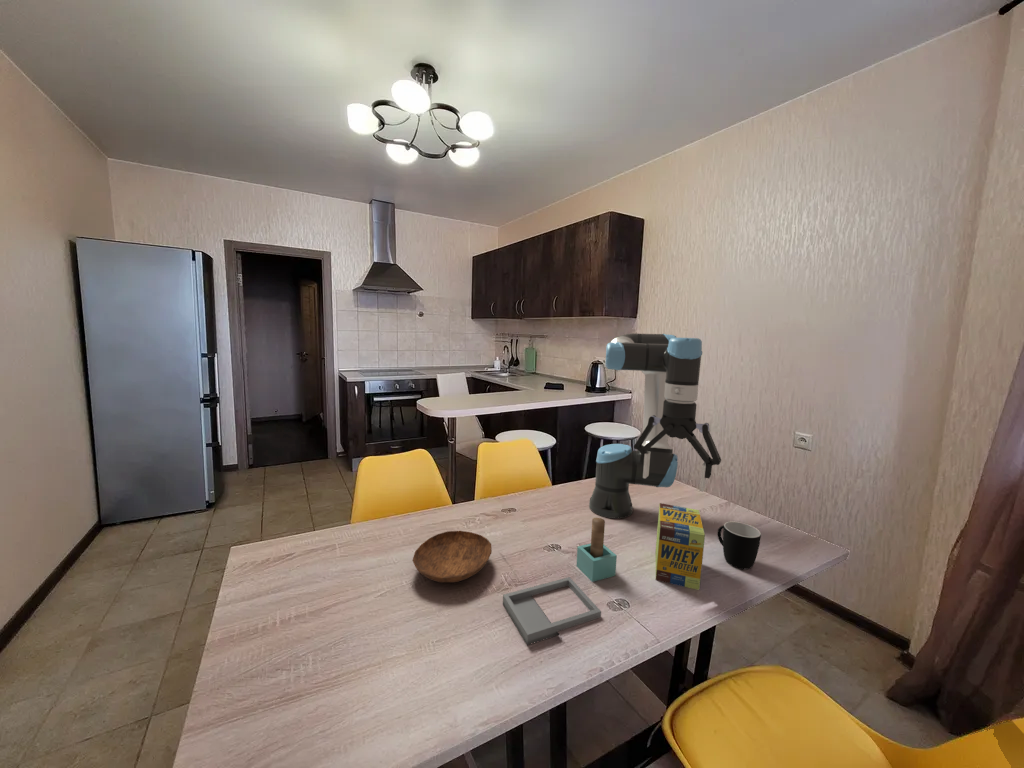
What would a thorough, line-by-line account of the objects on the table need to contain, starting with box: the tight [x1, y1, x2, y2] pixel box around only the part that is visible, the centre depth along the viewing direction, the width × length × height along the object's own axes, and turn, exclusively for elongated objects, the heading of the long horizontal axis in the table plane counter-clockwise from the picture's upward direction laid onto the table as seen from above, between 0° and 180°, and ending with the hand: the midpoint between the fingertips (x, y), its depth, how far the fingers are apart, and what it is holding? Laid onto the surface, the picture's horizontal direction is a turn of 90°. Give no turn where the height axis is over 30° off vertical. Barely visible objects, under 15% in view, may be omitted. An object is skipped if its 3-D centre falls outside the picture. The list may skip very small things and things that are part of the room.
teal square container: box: [575, 542, 618, 583], centre depth 103 cm, size 7×7×7 cm
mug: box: [716, 520, 762, 570], centre depth 111 cm, size 12×9×10 cm
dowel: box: [590, 517, 606, 558], centre depth 102 cm, size 3×3×14 cm
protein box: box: [654, 502, 706, 591], centre depth 105 cm, size 10×15×16 cm
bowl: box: [412, 530, 493, 583], centre depth 104 cm, size 20×22×5 cm
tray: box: [502, 576, 602, 646], centre depth 89 cm, size 13×18×2 cm
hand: (672, 483), depth 100 cm, fingers open, 13 cm apart
